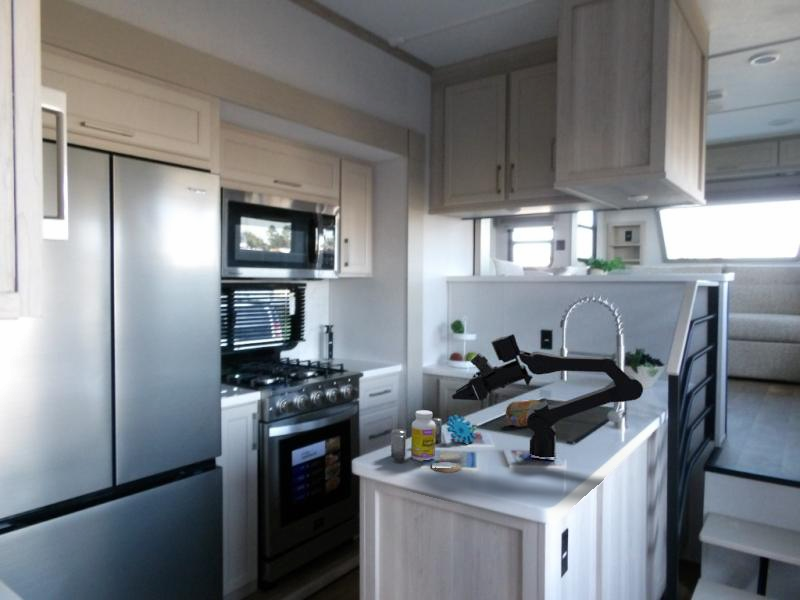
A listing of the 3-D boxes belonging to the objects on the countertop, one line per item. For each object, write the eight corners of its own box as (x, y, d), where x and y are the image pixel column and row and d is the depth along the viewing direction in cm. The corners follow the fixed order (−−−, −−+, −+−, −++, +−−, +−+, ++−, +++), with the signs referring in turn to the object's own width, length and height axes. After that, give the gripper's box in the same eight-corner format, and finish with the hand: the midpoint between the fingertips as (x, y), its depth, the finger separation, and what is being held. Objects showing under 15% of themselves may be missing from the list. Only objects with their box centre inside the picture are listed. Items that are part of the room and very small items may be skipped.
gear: (455, 442, 169) (444, 413, 175) (445, 452, 172) (434, 423, 178) (484, 442, 174) (472, 414, 181) (473, 452, 178) (462, 424, 184)
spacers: (442, 441, 175) (442, 418, 175) (416, 465, 152) (417, 439, 152) (413, 437, 178) (413, 415, 178) (383, 461, 155) (383, 435, 155)
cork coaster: (464, 464, 154) (464, 463, 154) (456, 474, 146) (456, 472, 146) (435, 460, 156) (435, 459, 156) (426, 470, 149) (426, 468, 149)
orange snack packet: (509, 427, 192) (509, 402, 191) (503, 425, 195) (504, 401, 194) (545, 423, 198) (546, 399, 197) (540, 421, 201) (540, 397, 200)
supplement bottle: (421, 463, 154) (421, 416, 154) (406, 457, 159) (406, 411, 159) (440, 459, 158) (440, 412, 157) (425, 452, 163) (425, 408, 163)
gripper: (495, 346, 172) (447, 365, 175) (492, 351, 154) (438, 372, 157) (510, 381, 171) (461, 399, 174) (508, 390, 153) (454, 410, 156)
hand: (454, 395), depth 165 cm, fingers open, 9 cm apart
